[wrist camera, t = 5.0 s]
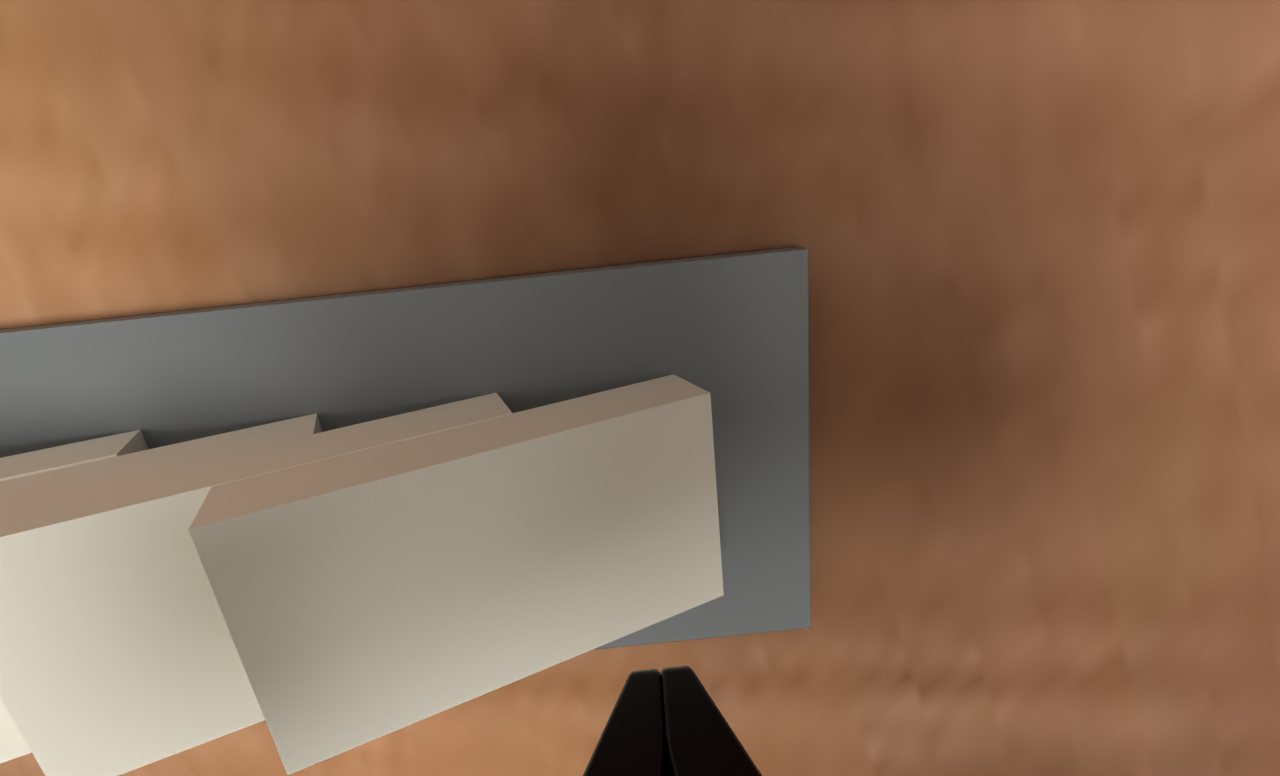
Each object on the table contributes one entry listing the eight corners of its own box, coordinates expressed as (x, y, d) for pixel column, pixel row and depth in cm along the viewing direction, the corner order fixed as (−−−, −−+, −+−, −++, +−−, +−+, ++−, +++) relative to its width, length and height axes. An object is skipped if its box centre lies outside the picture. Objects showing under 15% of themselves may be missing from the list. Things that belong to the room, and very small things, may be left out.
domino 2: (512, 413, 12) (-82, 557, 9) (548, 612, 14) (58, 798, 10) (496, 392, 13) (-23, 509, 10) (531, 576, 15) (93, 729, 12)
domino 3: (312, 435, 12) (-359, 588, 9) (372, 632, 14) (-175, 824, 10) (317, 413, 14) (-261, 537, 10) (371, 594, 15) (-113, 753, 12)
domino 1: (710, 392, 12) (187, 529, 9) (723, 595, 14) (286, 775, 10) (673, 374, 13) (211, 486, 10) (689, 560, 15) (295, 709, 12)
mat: (800, 246, 13) (808, 248, 13) (803, 612, 16) (810, 627, 16) (-347, 365, 13) (-391, 373, 13) (-119, 705, 17) (-146, 723, 16)
